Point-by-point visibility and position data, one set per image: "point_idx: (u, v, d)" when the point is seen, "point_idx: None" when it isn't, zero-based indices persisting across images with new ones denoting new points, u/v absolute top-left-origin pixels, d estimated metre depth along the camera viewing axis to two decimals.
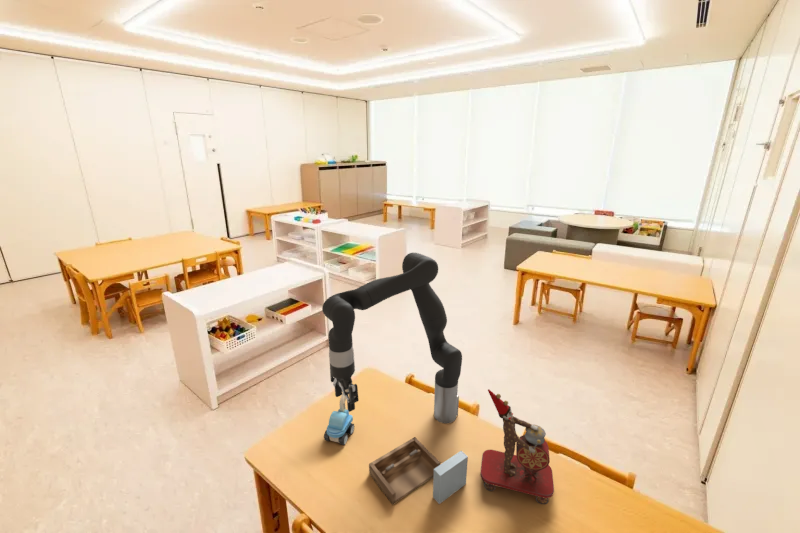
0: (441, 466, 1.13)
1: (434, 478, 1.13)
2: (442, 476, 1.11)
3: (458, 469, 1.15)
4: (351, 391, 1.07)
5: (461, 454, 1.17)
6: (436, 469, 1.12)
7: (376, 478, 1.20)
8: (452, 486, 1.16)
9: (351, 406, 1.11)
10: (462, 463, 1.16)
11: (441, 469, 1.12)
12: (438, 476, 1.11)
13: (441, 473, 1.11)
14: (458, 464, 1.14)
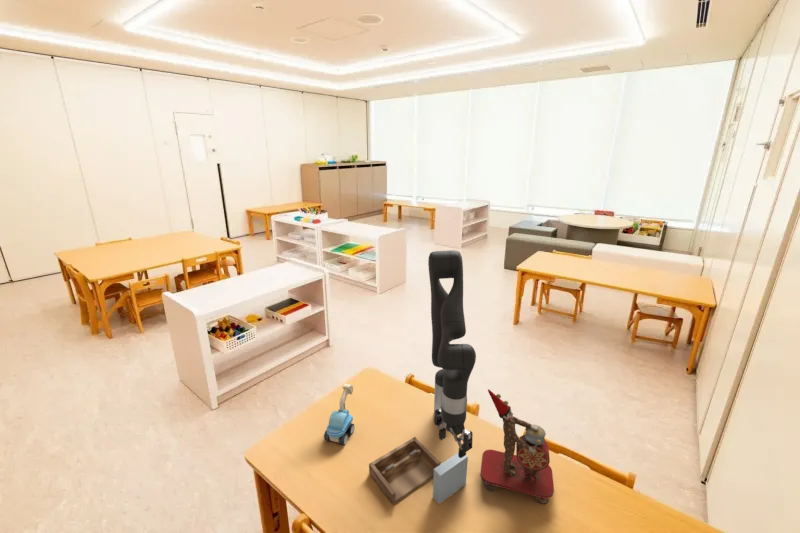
0: (441, 466, 1.13)
1: (434, 478, 1.13)
2: (442, 476, 1.11)
3: (458, 469, 1.15)
4: (467, 439, 1.03)
5: None
6: (436, 469, 1.12)
7: (376, 478, 1.20)
8: (452, 486, 1.16)
9: (463, 453, 1.07)
10: (462, 463, 1.16)
11: (441, 469, 1.12)
12: (438, 476, 1.11)
13: (441, 473, 1.11)
14: (458, 464, 1.14)
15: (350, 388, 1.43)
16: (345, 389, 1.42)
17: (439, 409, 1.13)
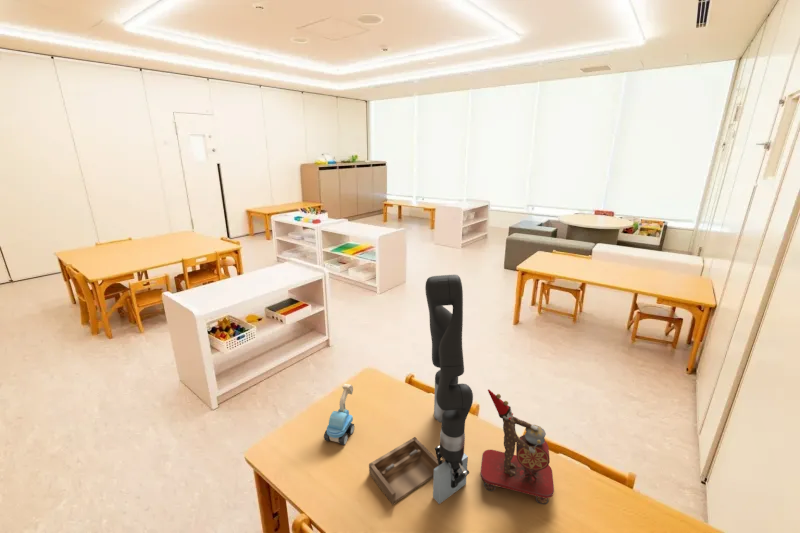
0: (441, 466, 1.13)
1: (434, 478, 1.13)
2: (442, 476, 1.11)
3: None
4: (463, 477, 1.09)
5: None
6: (436, 469, 1.12)
7: (376, 478, 1.20)
8: None
9: (455, 483, 1.14)
10: None
11: (441, 469, 1.12)
12: (438, 476, 1.11)
13: (441, 473, 1.11)
14: None
15: (350, 388, 1.43)
16: (345, 389, 1.42)
17: (438, 446, 1.18)
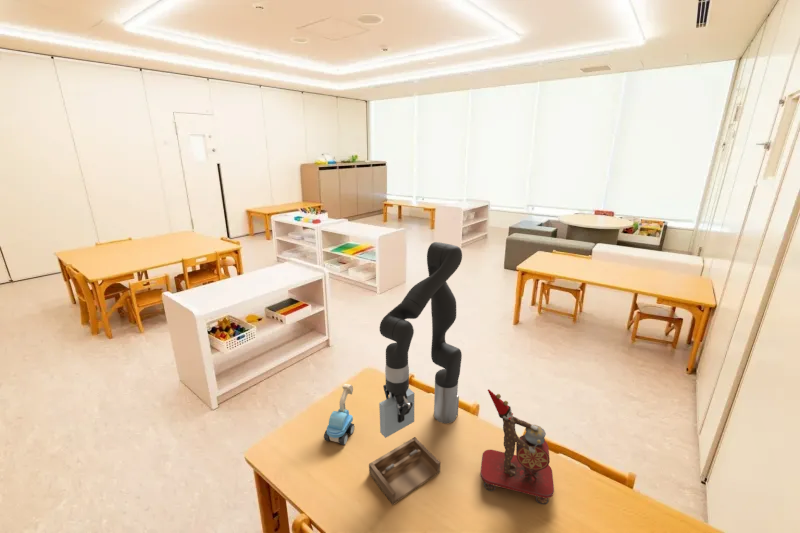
0: (387, 400, 1.16)
1: (380, 412, 1.16)
2: (387, 409, 1.14)
3: None
4: (406, 409, 1.13)
5: (408, 391, 1.21)
6: (381, 403, 1.15)
7: (376, 478, 1.20)
8: None
9: (401, 418, 1.18)
10: (409, 399, 1.19)
11: (386, 403, 1.15)
12: (383, 409, 1.14)
13: (386, 406, 1.14)
14: None
15: (350, 388, 1.43)
16: (345, 389, 1.42)
17: None
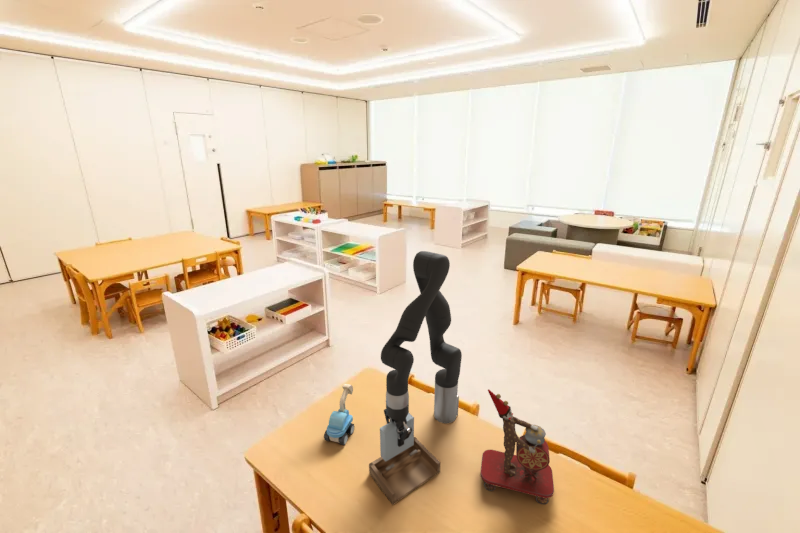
0: (387, 425, 1.20)
1: (380, 437, 1.20)
2: (387, 434, 1.18)
3: None
4: (406, 434, 1.16)
5: (408, 415, 1.24)
6: (382, 428, 1.19)
7: (376, 478, 1.20)
8: None
9: (401, 442, 1.21)
10: (408, 423, 1.23)
11: (387, 428, 1.19)
12: (383, 434, 1.17)
13: (386, 431, 1.17)
14: None
15: (350, 388, 1.43)
16: (345, 389, 1.42)
17: None
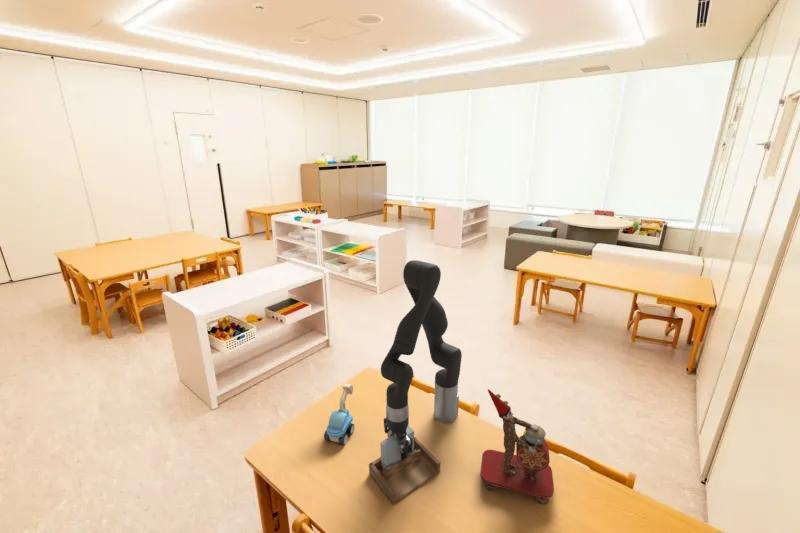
0: (388, 439, 1.22)
1: (381, 450, 1.22)
2: (387, 448, 1.20)
3: None
4: (407, 445, 1.17)
5: (408, 429, 1.26)
6: (382, 442, 1.21)
7: (376, 478, 1.20)
8: (399, 458, 1.25)
9: (404, 456, 1.21)
10: (409, 437, 1.25)
11: (387, 442, 1.21)
12: (384, 448, 1.20)
13: (386, 445, 1.19)
14: None
15: (350, 388, 1.43)
16: (345, 389, 1.42)
17: None
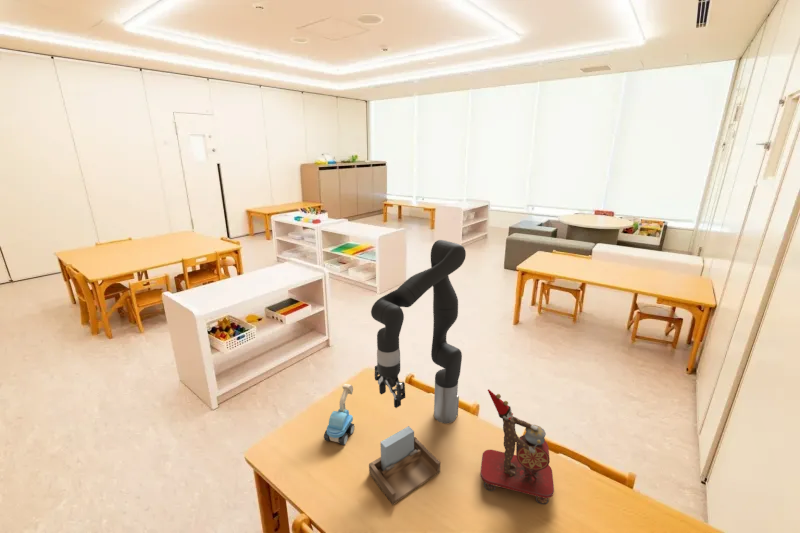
0: (388, 439, 1.22)
1: (381, 450, 1.22)
2: (387, 448, 1.20)
3: (404, 442, 1.24)
4: (399, 388, 1.14)
5: (408, 429, 1.26)
6: (382, 442, 1.21)
7: (376, 478, 1.20)
8: (399, 458, 1.25)
9: (398, 403, 1.17)
10: (409, 437, 1.25)
11: (387, 442, 1.21)
12: (384, 448, 1.20)
13: (386, 445, 1.19)
14: (404, 437, 1.23)
15: (350, 388, 1.43)
16: (345, 389, 1.42)
17: None
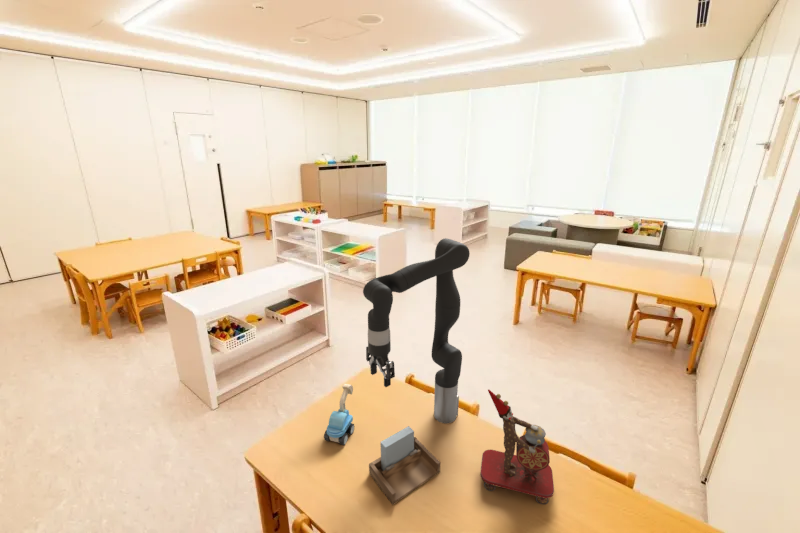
0: (388, 439, 1.22)
1: (381, 450, 1.22)
2: (387, 448, 1.20)
3: (404, 442, 1.24)
4: (389, 367, 1.16)
5: (408, 429, 1.26)
6: (382, 442, 1.21)
7: (376, 478, 1.20)
8: (399, 458, 1.25)
9: (387, 382, 1.20)
10: (409, 437, 1.25)
11: (387, 442, 1.21)
12: (384, 448, 1.20)
13: (386, 445, 1.19)
14: (404, 437, 1.23)
15: (350, 388, 1.43)
16: (345, 389, 1.42)
17: None
